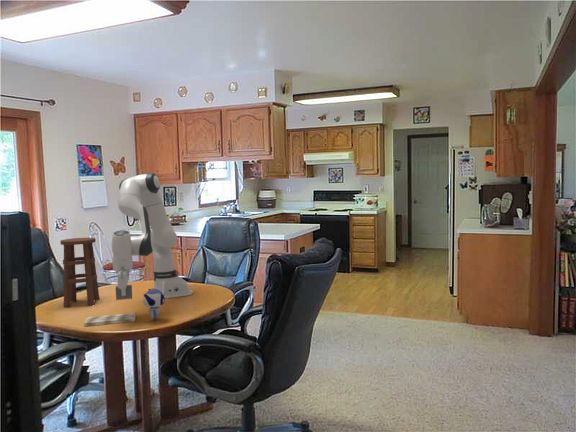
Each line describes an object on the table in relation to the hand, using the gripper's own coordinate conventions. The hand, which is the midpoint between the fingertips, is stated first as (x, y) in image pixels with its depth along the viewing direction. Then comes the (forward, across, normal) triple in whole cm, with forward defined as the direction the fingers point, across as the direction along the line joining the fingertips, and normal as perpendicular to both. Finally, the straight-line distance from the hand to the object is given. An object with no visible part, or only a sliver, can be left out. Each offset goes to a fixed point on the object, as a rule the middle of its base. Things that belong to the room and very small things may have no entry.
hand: (124, 294), depth 226 cm
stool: (+12, +42, +25) cm, 50 cm away
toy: (+12, -7, -14) cm, 19 cm away
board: (+12, 0, +6) cm, 14 cm away
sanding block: (+2, 0, 0) cm, 2 cm away
